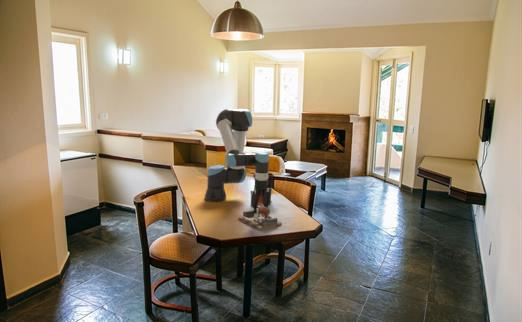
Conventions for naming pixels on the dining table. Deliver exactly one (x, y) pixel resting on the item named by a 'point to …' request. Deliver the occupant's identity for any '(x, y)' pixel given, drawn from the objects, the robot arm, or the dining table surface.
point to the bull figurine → (263, 212)
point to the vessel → (270, 177)
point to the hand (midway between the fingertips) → (259, 217)
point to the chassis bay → (259, 220)
